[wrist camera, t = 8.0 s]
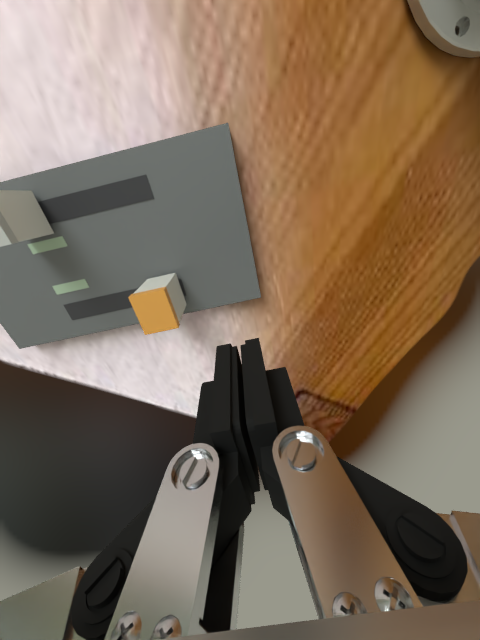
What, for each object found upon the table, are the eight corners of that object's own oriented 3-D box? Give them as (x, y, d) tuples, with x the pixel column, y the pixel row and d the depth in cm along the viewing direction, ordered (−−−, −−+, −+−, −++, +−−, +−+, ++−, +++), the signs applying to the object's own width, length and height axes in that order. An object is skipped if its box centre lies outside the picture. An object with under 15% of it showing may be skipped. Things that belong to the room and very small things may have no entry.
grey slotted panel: (228, 128, 18) (228, 122, 17) (259, 291, 24) (261, 297, 23) (-67, 204, 20) (-89, 205, 18) (30, 340, 26) (19, 349, 24)
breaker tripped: (176, 271, 21) (163, 289, 17) (187, 304, 22) (178, 327, 18) (146, 278, 21) (128, 297, 17) (159, 310, 22) (145, 334, 19)
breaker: (31, 189, 18) (-23, 188, 14) (55, 234, 19) (11, 244, 15) (-2, 198, 18) (-65, 199, 14) (24, 241, 19) (-27, 253, 16)
